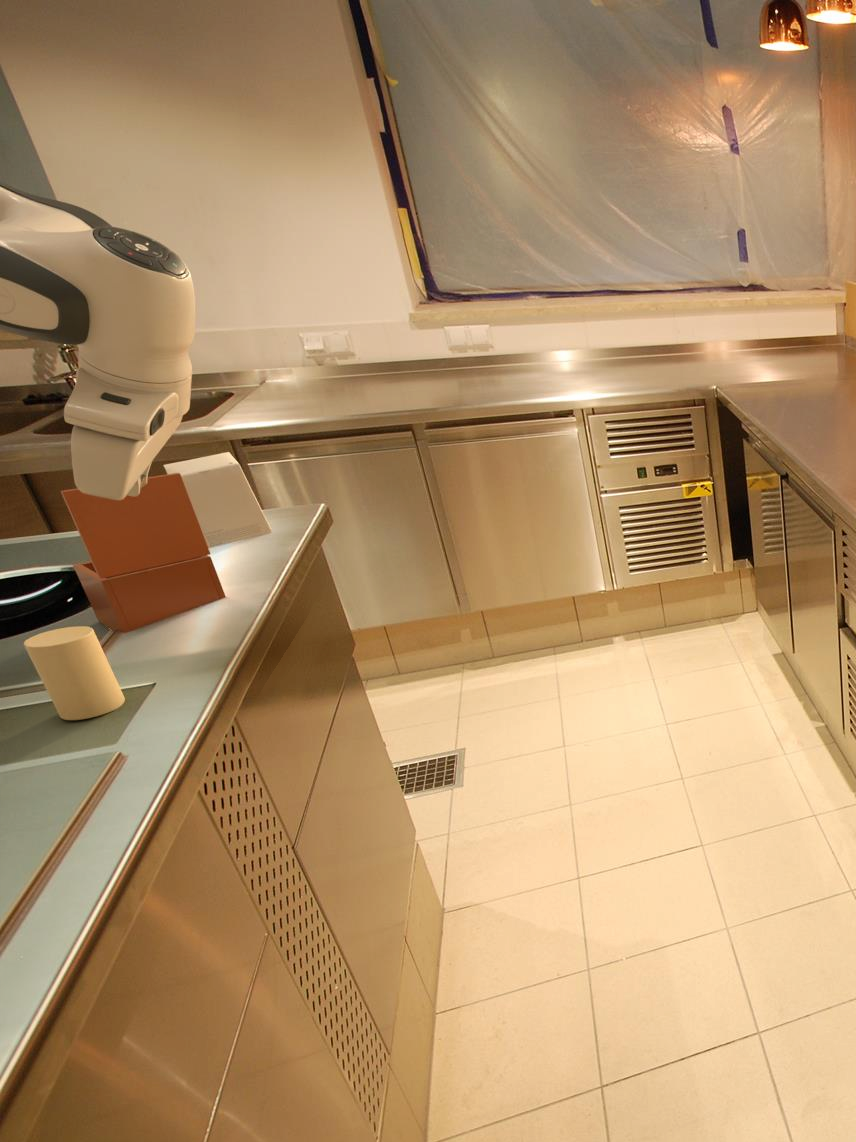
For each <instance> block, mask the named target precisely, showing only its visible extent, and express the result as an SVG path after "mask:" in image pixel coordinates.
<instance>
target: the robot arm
mask: <svg viewBox="0 0 856 1142" xmlns="http://www.w3.org/2000/svg"><path fill="white" fill-rule="evenodd" d="M194 286H195V285H194V281H193V277H192V274H191V272H190V270H189V267H188V266H187V265H186V263H185V261H184V260H183V259H182V258H181V257H180V256H179V255H178V254H176V253H175V252H174V251H173V250H171V249H170V248H168V247H167V246H166V245H164V244H162V243H161V242H159V241H157V240H156V239H153V238H152V237H149V236H147V235H144V234H142V233H139V232H136V231H133V230H129V229H126V228H121V227H117V226H112V224H110V223H109V222H108V221H106V220H105V219H103V218H102V217H100V216H99V215H97V214H95V213H94V212H91V211H90V210H88V209H86V208H83V207H80V206H78V205H75V204H72V203H68V202H65V201H62V200H61V201H60V200H57V199H52V198H47V197H44V196H39V195H35V194H32V193H29V192H26V191H23V190H21V189H18V188H15V187H13V186H11V185H8V184H7V183H4V182H2V181H0V332H5V333H8V334H12V335H16V336H21V337H24V338H25V337H26V338H29V339H34V340H39V341H42V342H43V341H44V342H48V343H54V344H61V345H75V346H76V347H77V348H78V367H77V368H76V373H75V374H76V377H75V378H76V380H75V385H74V386H73V388H72V390H71V392H70V394H69V397H68V398H67V401H66V403H65V405H64V407H63V418H64V422H65V423H67V424H70V425H73V427H72V430H71V435H70V450H71V451H70V453H71V465H72V474H73V475H72V476H73V481H74V485H75V486H76V489H77V488H78V489H79V490H80V491H81V492H82V493H84V494H88V495H92V496H97V497H102V498H107V499H112V500H123V499H124V498H125V497H126V495H128V496H133V497H136V496H138V495H139V493H140V492H141V491H142V489H143V488H144V486H145V485H146V484H147V481H148V477H149V476H148V475H149V471H150V469H151V465H152V463H153V461H154V460H155V458H156V457H157V455H158V454H159V453H160V451H161V450H162V449H163V447H164V446H165V445H166V444H167V442H168V441H169V440H170V439H171V437H172V436H173V434H174V433H175V432H176V430H177V429H178V427H180V425H181V424H182V420H183V417H184V415H186V414H187V413H188V412H189V410H190V408H191V394H192V378H193V365H192V361H191V359H190V354H189V353H190V348H191V345H192V344H193V342H194V340H195V336H196V295H195V287H194Z"/></svg>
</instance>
